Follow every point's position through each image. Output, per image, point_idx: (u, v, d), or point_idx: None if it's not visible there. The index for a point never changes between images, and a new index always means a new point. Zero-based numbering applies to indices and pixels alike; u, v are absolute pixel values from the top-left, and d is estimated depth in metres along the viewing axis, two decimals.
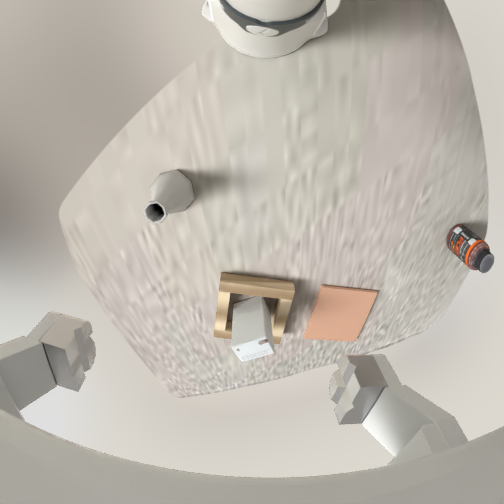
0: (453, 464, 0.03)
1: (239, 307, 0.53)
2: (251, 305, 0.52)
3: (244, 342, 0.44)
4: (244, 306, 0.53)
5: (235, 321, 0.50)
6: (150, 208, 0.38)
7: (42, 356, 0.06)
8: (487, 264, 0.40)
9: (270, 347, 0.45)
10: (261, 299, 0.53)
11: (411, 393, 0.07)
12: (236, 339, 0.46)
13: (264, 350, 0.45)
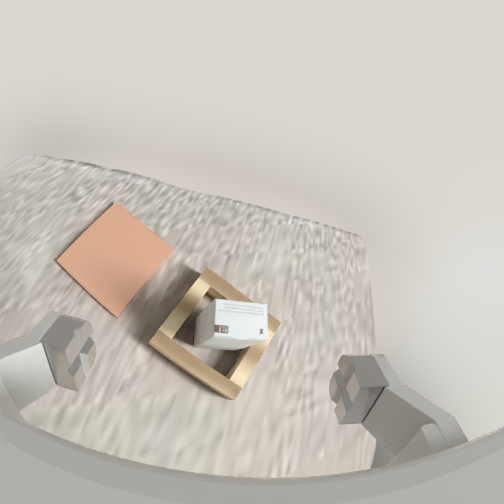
0: (453, 464, 0.03)
1: (229, 349, 0.38)
2: (212, 347, 0.36)
3: (246, 339, 0.29)
4: (222, 348, 0.37)
5: (243, 346, 0.35)
6: None
7: (42, 356, 0.06)
8: None
9: (216, 312, 0.29)
10: (197, 346, 0.37)
11: (411, 393, 0.07)
12: (255, 342, 0.31)
13: (226, 311, 0.29)
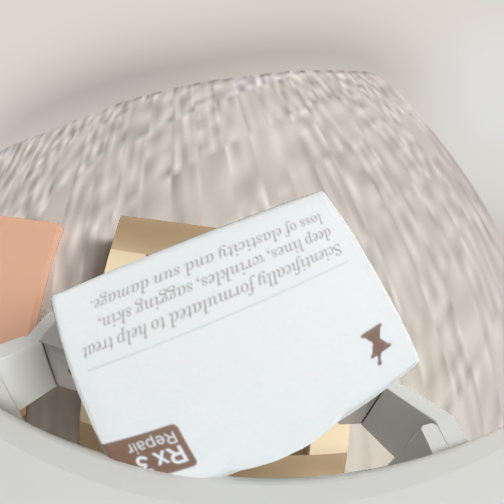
0: (453, 464, 0.03)
1: None
2: None
3: None
4: None
5: None
6: None
7: (42, 356, 0.06)
8: None
9: (76, 371, 0.04)
10: None
11: (411, 393, 0.07)
12: None
13: (125, 340, 0.04)
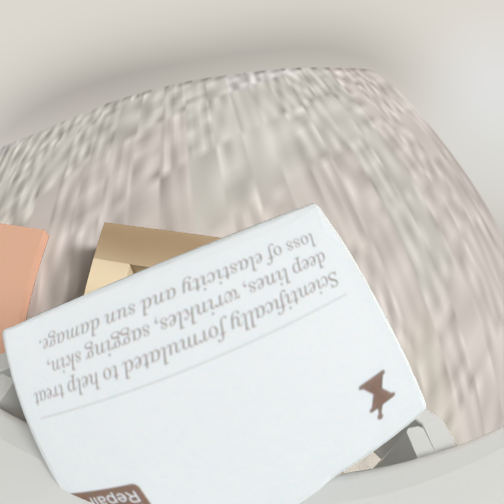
0: (453, 464, 0.03)
1: None
2: None
3: None
4: None
5: None
6: None
7: None
8: None
9: (30, 418, 0.03)
10: None
11: None
12: None
13: (76, 390, 0.03)
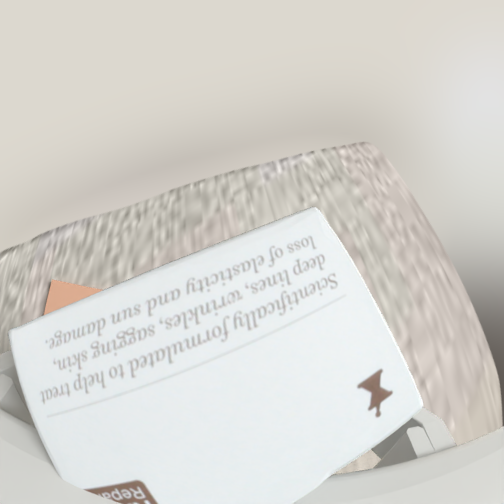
0: (453, 464, 0.03)
1: None
2: None
3: (310, 485, 0.03)
4: None
5: None
6: None
7: None
8: None
9: (36, 416, 0.03)
10: None
11: None
12: None
13: (82, 388, 0.03)
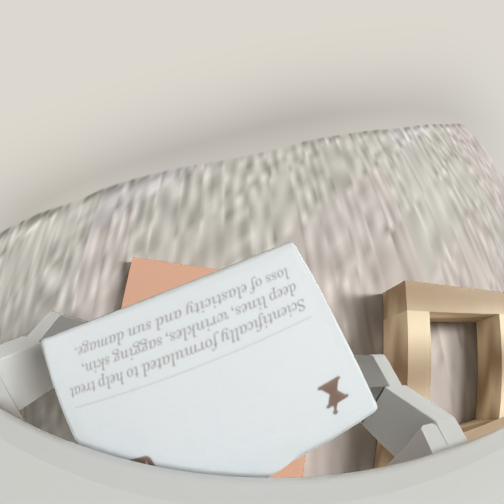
0: (453, 464, 0.03)
1: None
2: None
3: None
4: None
5: None
6: None
7: (42, 356, 0.06)
8: None
9: (65, 407, 0.04)
10: None
11: (411, 393, 0.07)
12: None
13: (105, 385, 0.04)
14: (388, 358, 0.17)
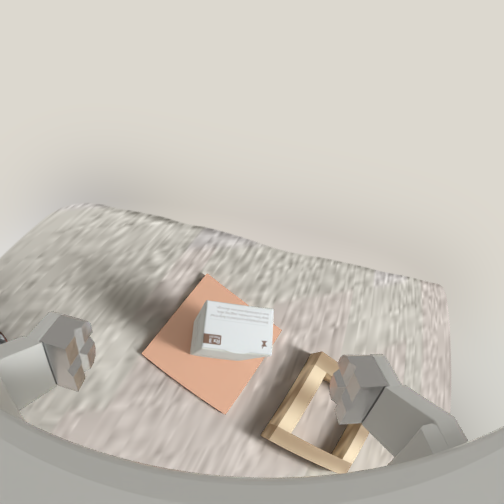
0: (453, 464, 0.03)
1: (230, 359, 0.32)
2: None
3: (244, 353, 0.23)
4: (222, 358, 0.31)
5: (245, 358, 0.28)
6: None
7: (42, 356, 0.06)
8: None
9: (206, 317, 0.23)
10: (192, 354, 0.31)
11: (411, 393, 0.07)
12: (256, 356, 0.24)
13: (220, 317, 0.23)
14: (295, 383, 0.35)
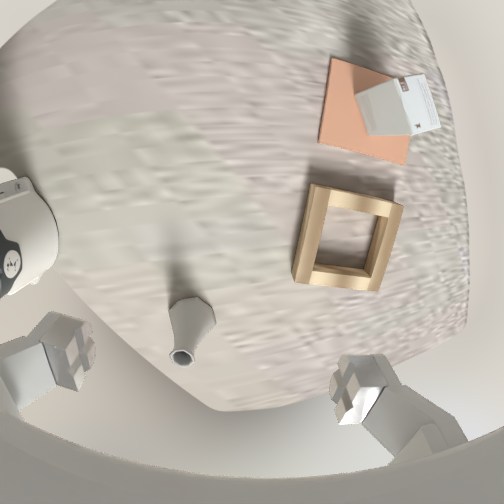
0: (453, 464, 0.03)
1: (370, 125, 0.32)
2: (365, 107, 0.31)
3: (405, 113, 0.23)
4: (368, 118, 0.31)
5: (384, 130, 0.29)
6: (185, 356, 0.37)
7: (42, 356, 0.06)
8: None
9: (414, 76, 0.21)
10: (358, 94, 0.31)
11: (411, 393, 0.07)
12: (403, 126, 0.24)
13: (419, 86, 0.21)
14: (367, 195, 0.38)
